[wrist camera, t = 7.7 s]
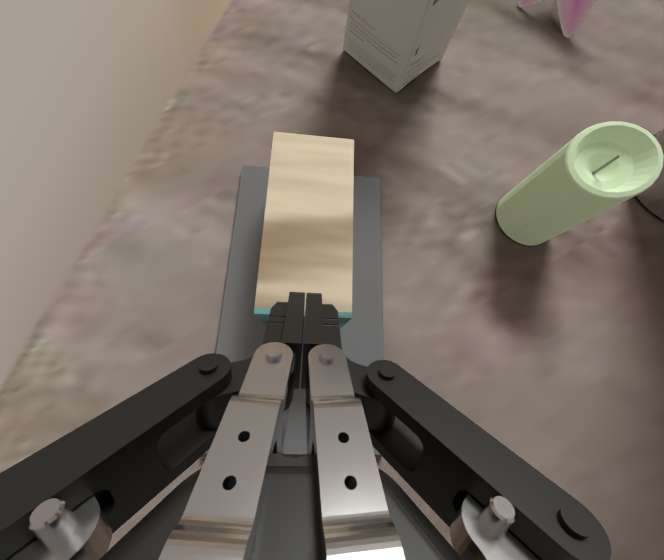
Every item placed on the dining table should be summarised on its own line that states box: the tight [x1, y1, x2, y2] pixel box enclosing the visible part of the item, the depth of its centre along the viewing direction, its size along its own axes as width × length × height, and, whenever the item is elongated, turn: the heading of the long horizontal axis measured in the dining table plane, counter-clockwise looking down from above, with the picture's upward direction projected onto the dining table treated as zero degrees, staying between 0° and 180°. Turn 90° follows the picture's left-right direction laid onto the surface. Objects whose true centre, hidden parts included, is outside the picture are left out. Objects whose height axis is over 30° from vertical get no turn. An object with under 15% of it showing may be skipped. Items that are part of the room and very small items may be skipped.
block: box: [254, 132, 354, 329], centre depth 19 cm, size 5×5×11 cm
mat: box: [204, 166, 384, 455], centre depth 20 cm, size 20×11×1 cm, turn 178°
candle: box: [496, 122, 664, 246], centre depth 20 cm, size 5×5×8 cm
